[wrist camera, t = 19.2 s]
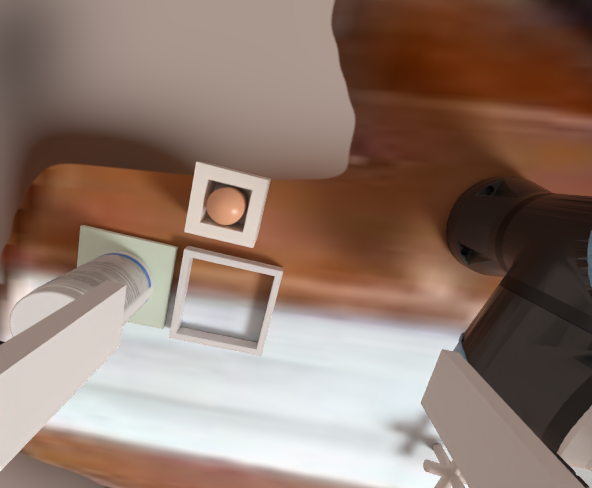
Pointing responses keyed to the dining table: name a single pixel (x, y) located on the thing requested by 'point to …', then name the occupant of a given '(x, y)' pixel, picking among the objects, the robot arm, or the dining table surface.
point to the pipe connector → (444, 470)
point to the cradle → (216, 339)
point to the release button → (227, 205)
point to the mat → (150, 252)
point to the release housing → (216, 178)
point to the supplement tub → (86, 288)
